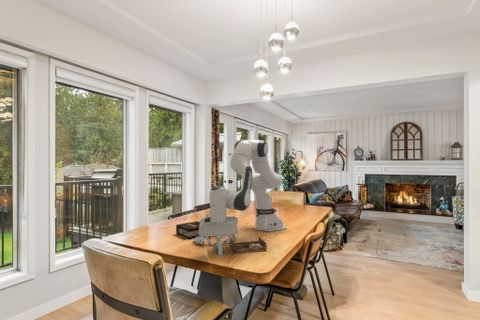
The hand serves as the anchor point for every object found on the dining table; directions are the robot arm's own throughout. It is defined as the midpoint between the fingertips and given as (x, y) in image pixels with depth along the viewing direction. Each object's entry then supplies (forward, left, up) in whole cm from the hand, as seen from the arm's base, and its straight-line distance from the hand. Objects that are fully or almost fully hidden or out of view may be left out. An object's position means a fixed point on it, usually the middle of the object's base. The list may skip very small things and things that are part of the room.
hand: (218, 244), depth 142 cm
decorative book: (+7, -43, -5) cm, 44 cm away
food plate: (-1, -22, -5) cm, 23 cm away
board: (0, +1, -4) cm, 4 cm away
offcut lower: (-19, +2, -4) cm, 20 cm away
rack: (-15, 0, -5) cm, 16 cm away
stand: (0, 0, -5) cm, 5 cm away
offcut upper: (-19, +2, -2) cm, 19 cm away
